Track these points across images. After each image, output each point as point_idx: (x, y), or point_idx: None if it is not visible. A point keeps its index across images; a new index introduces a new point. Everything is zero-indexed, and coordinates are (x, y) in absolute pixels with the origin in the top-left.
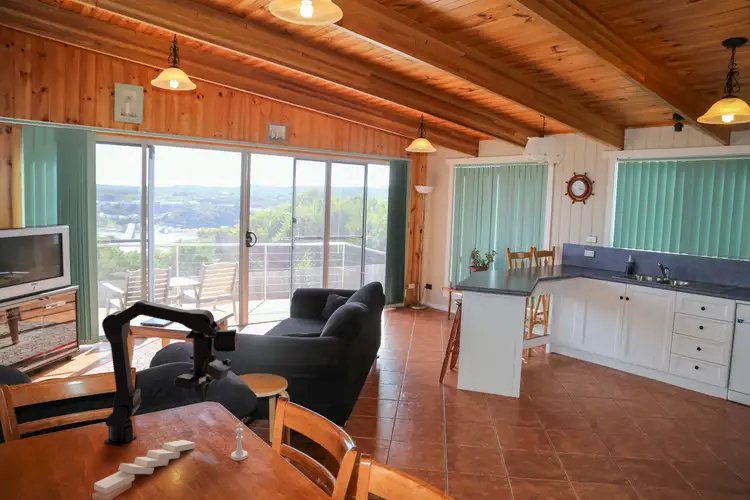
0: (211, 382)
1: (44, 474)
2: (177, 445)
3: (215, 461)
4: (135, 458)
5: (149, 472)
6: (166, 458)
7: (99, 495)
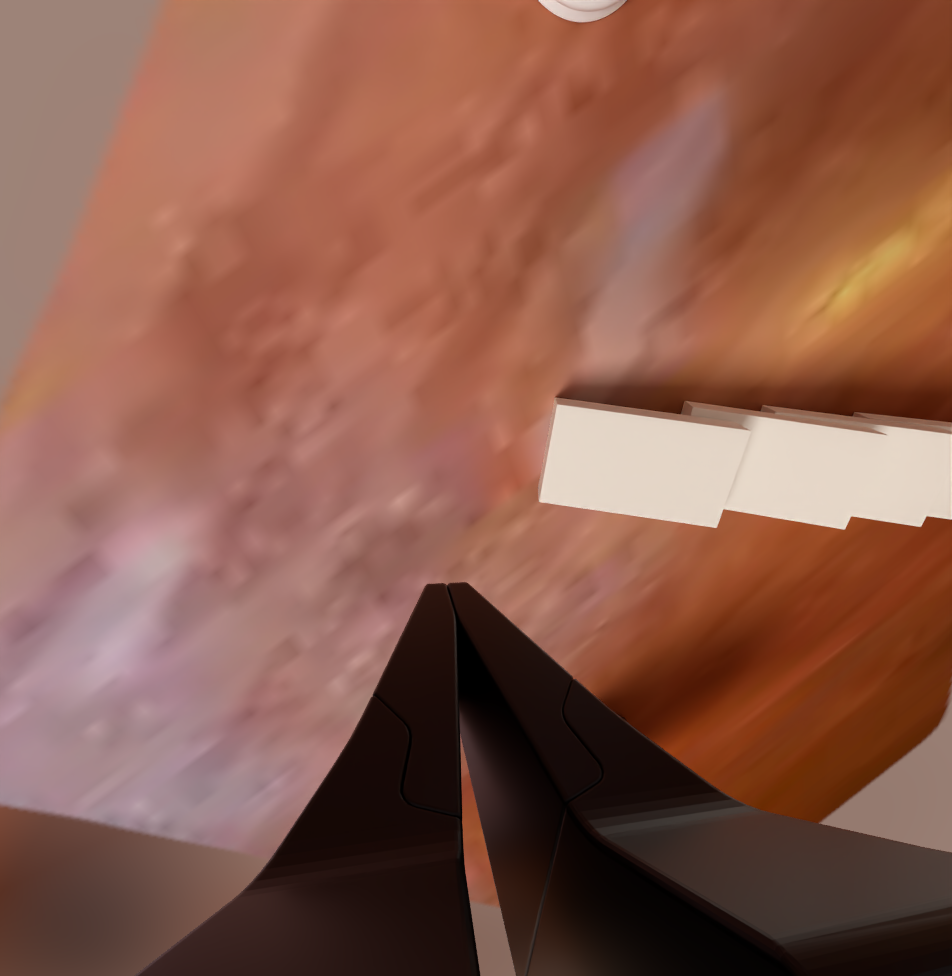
0: (311, 903)
1: (844, 737)
2: (716, 438)
3: (694, 115)
4: (917, 523)
5: (886, 416)
6: (799, 417)
7: None
